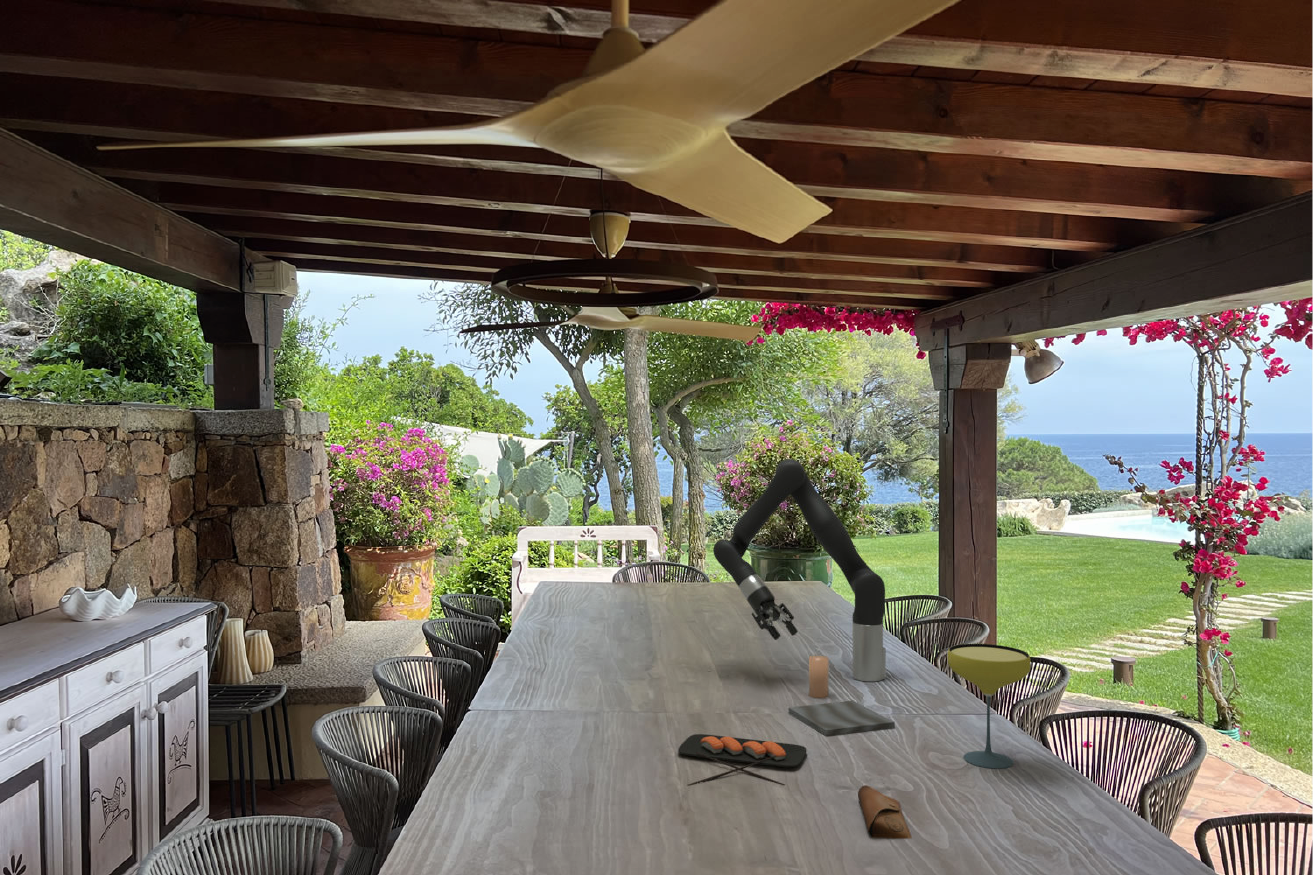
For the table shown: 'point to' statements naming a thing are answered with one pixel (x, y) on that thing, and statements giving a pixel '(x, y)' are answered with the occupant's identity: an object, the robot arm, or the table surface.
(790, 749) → the sushi plate
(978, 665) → the cocktail glass
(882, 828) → the sunglasses case
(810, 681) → the tan dome-topped cylinder
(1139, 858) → the table surface
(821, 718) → the charcoal board
